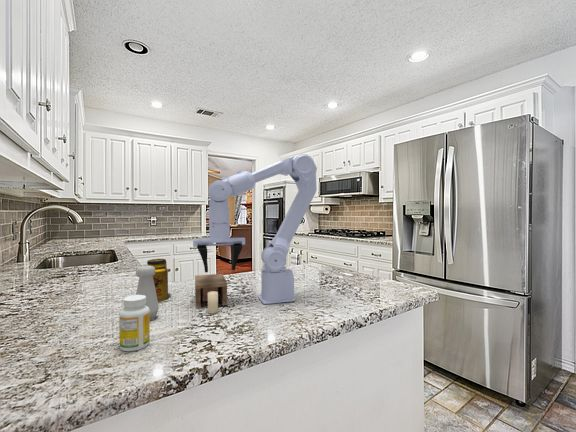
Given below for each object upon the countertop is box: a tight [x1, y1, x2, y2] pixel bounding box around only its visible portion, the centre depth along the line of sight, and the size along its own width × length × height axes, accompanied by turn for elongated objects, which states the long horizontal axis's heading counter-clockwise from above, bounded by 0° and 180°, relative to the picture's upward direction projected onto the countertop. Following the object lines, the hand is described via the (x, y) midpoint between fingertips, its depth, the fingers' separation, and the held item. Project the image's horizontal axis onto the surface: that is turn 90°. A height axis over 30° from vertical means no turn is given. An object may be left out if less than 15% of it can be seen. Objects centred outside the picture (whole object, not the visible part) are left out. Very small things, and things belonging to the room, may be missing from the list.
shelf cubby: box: [194, 273, 228, 309], centre depth 87 cm, size 8×12×6 cm
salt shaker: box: [135, 265, 160, 321], centre depth 72 cm, size 6×6×13 cm
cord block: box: [201, 287, 219, 315], centre depth 83 cm, size 4×16×5 cm, turn 18°
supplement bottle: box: [118, 294, 151, 352], centre depth 58 cm, size 5×5×10 cm
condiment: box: [146, 258, 172, 303], centre depth 89 cm, size 7×8×12 cm
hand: (220, 270), depth 85 cm, fingers open, 7 cm apart
